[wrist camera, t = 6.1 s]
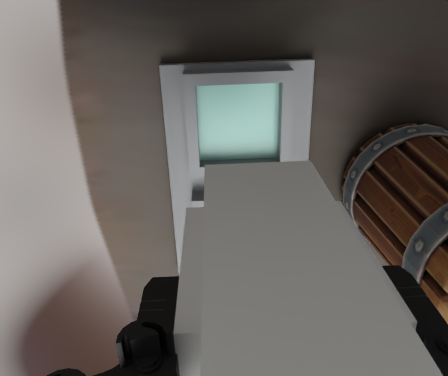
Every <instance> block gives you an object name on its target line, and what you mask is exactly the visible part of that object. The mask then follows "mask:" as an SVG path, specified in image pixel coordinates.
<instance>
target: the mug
mask: <svg viewBox="0 0 448 376" xmlns="http://www.w3.org/2000/svg"><path fill="white" fill-rule="evenodd" d="M343 177H344V178H345V179H346V180H345V181H344V183H343V185H342V201H343V206H344V207H345V209H346V211H347V212H348V214H349V216H350V217H351V219H352V220H353V222H354V223H355V225H356V227H357V228H358V230H359V231H360V233H361V234H362V236H363V237H364V239H365V240H367V241H368V242H369V243H370V244H371V245H372V246H373V247H374V248H375V249H376V251H377V252H378V253H379V254H380V256H381V257H382V258H383V259H384V260H385V262H386V263H387V264H388V265H389V266H391V265H399V266H401V267H402V268H403V269H405V270H406V271H408V272H409V273H410V274H412V275H413V277H414V278H415V279H416V281H417V282H418V284H419V285H420V288H422V289H423V290H424V292H425V293H426V296H427V297H429V299H430V300H431V301H432V303H433V304H434V306H435V307H436V308H437V310H438V311H439V313H440V314H441V315H442V317H443V318H444V319H445V321H446V322H447V324H448V130H446V129H444V128H442V127H437V126H435V125H430V124H426V123H424V124H421V125H416V124H415V123H409V124H402V125H398V126H395V127H392V128H390V129H388V130H387V131H386V132H385V133H379V134H377V135H376V136H374V137H373V138H371V139H370V140H368V141H367V142H366V143H365V144H364V145H363V146H362V147H361V148H360V150H359V153H358V154H356V155H355V156H353V158H352V159H351V161H350V163H349V164H348V166H347V169H346V171H345V174H344V176H343Z"/></svg>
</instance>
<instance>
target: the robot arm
mask: <svg viewBox="0 0 448 376" xmlns="http://www.w3.org/2000/svg"><path fill="white" fill-rule="evenodd" d="M336 203H337V204H338V206H339V208H340V209H341V211H342V212H343V214H344V216H345V217H346V219H347V221H348V222H349V224H350V225H351V227H352V229H353V230H354V232H355V234H356V235H357V237H358V238H359V240H360V242H361V243H362V245H363V247H364V248H365V250H366V251H367V253H368V255H369V256H370V258H371V259H372V261H373V263H374V264H375V266H376V268H377V269H378V271H379V272H380V274H381V276H382V277H383V279H384V281H385V282H386V284H387V285H388V287H389V289H390V290H391V292H392V294H393V295H394V297H395V298H396V300H397V302H398V303H399V305H400V307H401V308H402V310H403V311H404V313H405V315H406V316H407V318H408V320H409V321H410V323H411V324H412V326H413V328H414V329H415V331H416V333H417V334H418V336H419V337H420V339H421V341H422V342H423V344H424V346H425V347H426V349H427V350H428V352H429V354H430V355H431V357H432V358H433V360H434V362H435V363H436V365H437V367H438V368H439V370H440V371H441V373H442V375H443V376H448V324H447V322H446V321H445V319H444V318H443V317H442V315H441V314H440V313H439V311H438V310H437V308H436V307H435V306H434V304H433V303H432V301H431V300H430V299H429V297H427V296H426V293H425V292H424V290H423V289H422V288H420V285H419V284H418V282H417V281H416V279H415V278H414V277H413V275H412V274H410V273H409V272H408V271H406V270H405V269H403V268H402V267H401V266H399V265H391V266H381V264H380V263H379V261H378V259H377V258H376V256H375V255H374V253H373V252H372V250H371V248H370V247H369V245H368V244H367V242H366V241H365V239H364V237H363V236H362V234H361V233H360V231H359V230H358V228H357V227H356V225H355V223H354V222H353V220H352V219H351V217H350V216H349V214H348V212H347V211H346V209H345V208H344V206H343V205H342V203H341V201H336ZM203 218H204V207H191V208H186V216H185V225H184V235H183V245H182V255H181V265H180V274H179V276H175V277H153V278H152V279H151V280H150V281H149V282H148V284H147V285H146V286H145V287H144V290H143V295H142V299H141V304H140V308H139V313H138V318H137V321H134V322H131V323H130V324H128V325H127V326H125V327H124V328H123V329H122V330H121V332H120V333H119V334H118V336H117V341H116V347H117V352H118V358H119V363H120V364H118V365H117V366H116V367H114V368H112V369H110V370H108V371H105V372H103V373H100V374H97V375H94V376H200V358H201V312H202V265H203ZM47 376H86V375H85V374H84V373H82V372H81V371H79V370H77V369H69V368H67V369H62V370H57V371H55V372H53V373H51V374H49V375H47Z"/></svg>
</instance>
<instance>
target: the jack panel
mask: <svg viewBox="0 0 448 376" xmlns="http://www.w3.org/2000/svg"><path fill="white" fill-rule="evenodd" d="M314 64H315V60H314V59H312V58H309V59H280V60H252V61H223V62H195V63H166V64H160V65H159V70H160V80H161V91H162V102H163V112H164V123H165V133H166V144H167V155H168V165H169V176H170V187H171V197H172V208H173V219H174V229H175V240H176V251H177V261H178V272H179V274H180V265H181V255H182V245H183V235H184V225H185V216H186V208H191V207H204V171H205V165H214V164H238V163H262V162H287V161H308V159H309V143H310V127H311V111H312V96H313V80H314Z"/></svg>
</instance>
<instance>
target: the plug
mask: <svg viewBox="0 0 448 376" xmlns="http://www.w3.org/2000/svg"><path fill="white" fill-rule="evenodd" d="M200 376H443V375H442V373H441V371H440V370H439V368H438V367H437V365H436V363H435V362H434V360H433V358H432V357H431V355H430V354H429V352H428V350H427V349H426V347H425V346H424V344H423V342H422V341H421V339H420V337H419V336H418V334H417V333H416V331H415V329H414V328H413V326H412V324H411V323H410V321H409V320H408V318H407V316H406V315H405V313H404V311H403V310H402V308H401V307H400V305H399V303H398V302H397V300H396V298H395V297H394V295H393V294H392V292H391V290H390V289H389V287H388V285H387V284H386V282H385V281H384V279H383V277H382V276H381V274H380V272H379V271H378V269H377V268H376V266H375V264H374V263H373V261H372V259H371V258H370V256H369V255H368V253H367V251H366V250H365V248H364V247H363V245H362V243H361V242H360V240H359V238H358V237H357V235H356V234H355V232H354V230H353V229H352V227H351V225H350V224H349V222H348V221H347V219H346V217H345V216H344V214H343V212H342V211H341V209H340V208H339V206H338V204H337V203H336V201H335V199H334V198H333V196H332V195H331V193H330V191H329V190H328V188H327V186H326V185H325V183H324V182H323V180H322V178H321V177H320V175H319V173H318V172H317V170H316V169H315V167H314V165H313V164H312V162H311V161H287V162H262V163H238V164H214V165H205V171H204V218H203V265H202V312H201V358H200Z"/></svg>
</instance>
